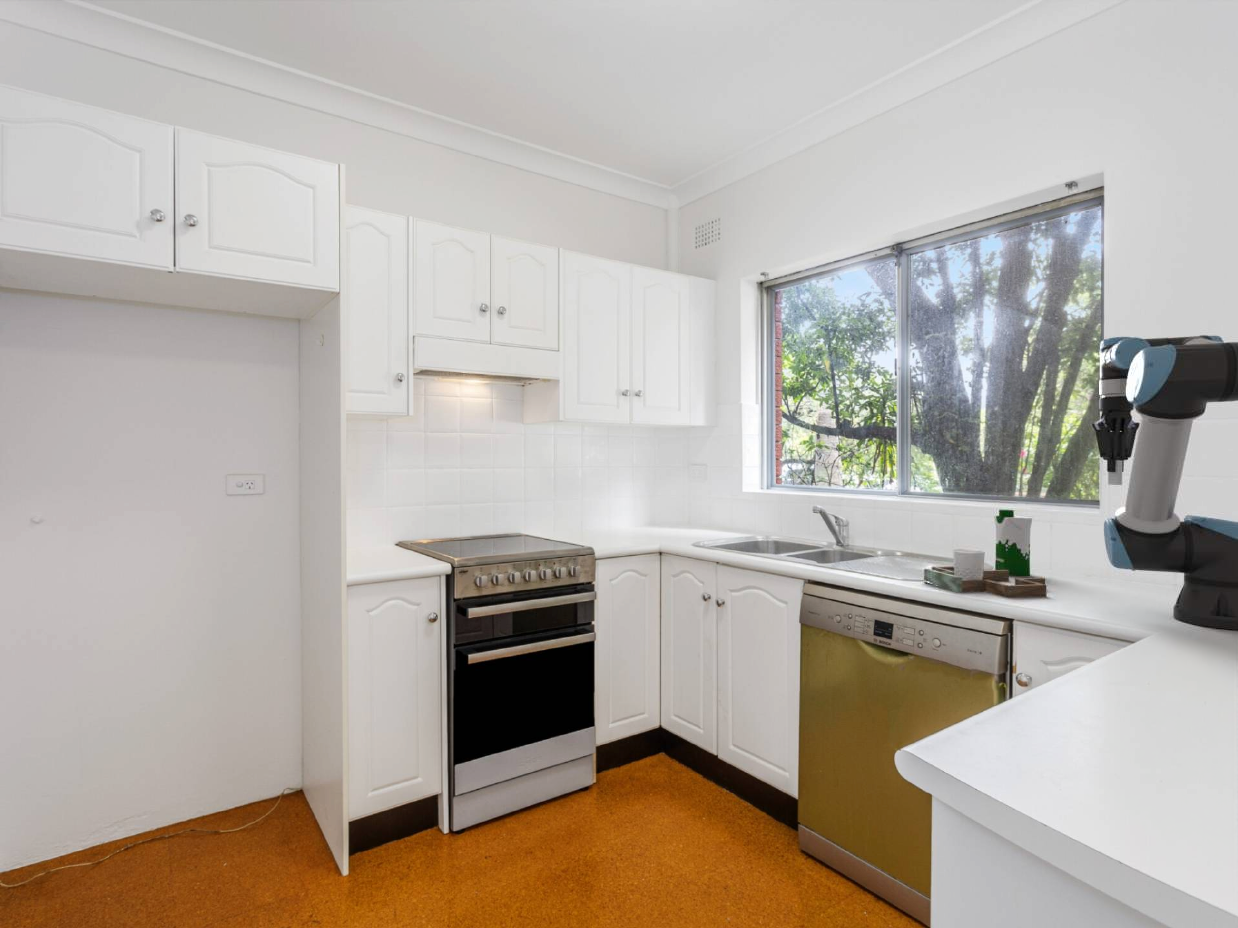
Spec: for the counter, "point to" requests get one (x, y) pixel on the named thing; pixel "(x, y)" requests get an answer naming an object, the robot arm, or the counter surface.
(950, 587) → the wooden tray
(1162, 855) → the counter surface
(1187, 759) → the counter surface
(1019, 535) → the milk carton
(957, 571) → the white cup
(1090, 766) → the counter surface
